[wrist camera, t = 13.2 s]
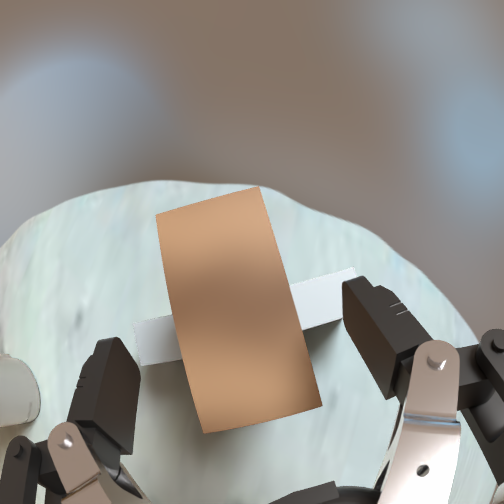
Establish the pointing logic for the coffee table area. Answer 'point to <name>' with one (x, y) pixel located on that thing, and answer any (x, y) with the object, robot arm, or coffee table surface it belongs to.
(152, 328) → the white notched u-shaped brace
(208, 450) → the coffee table surface
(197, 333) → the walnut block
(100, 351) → the robot arm
